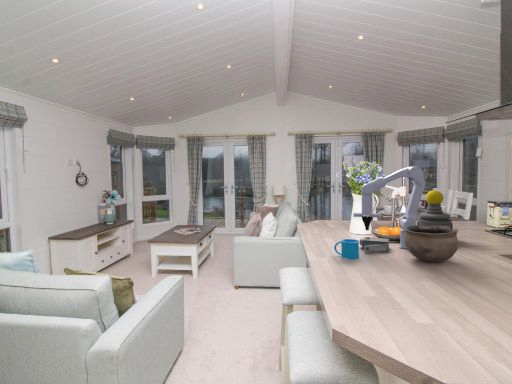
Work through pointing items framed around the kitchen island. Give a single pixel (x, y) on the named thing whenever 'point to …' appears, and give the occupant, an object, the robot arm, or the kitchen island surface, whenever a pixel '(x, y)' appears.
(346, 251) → the mug
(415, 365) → the kitchen island surface
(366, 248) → the side door
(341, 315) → the kitchen island surface
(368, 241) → the camera body
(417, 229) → the ceramic bowl
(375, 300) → the kitchen island surface
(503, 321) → the kitchen island surface
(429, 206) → the decorative lamp
